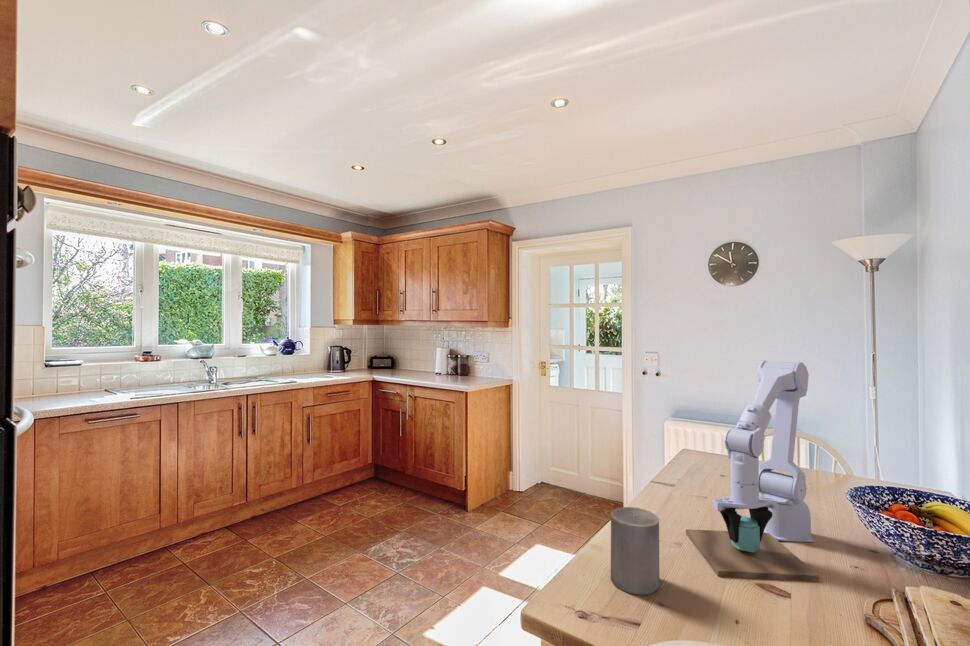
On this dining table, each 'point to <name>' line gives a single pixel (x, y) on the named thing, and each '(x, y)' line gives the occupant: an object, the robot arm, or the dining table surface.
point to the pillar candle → (635, 550)
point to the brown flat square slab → (750, 558)
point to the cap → (748, 535)
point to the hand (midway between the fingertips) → (745, 540)
